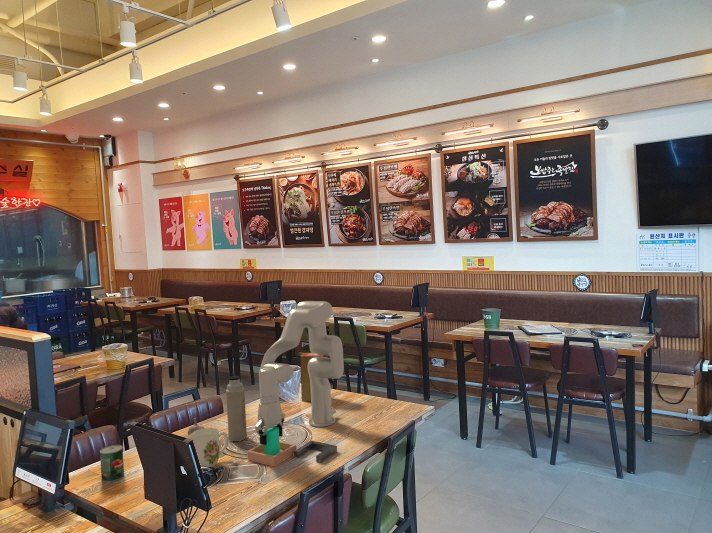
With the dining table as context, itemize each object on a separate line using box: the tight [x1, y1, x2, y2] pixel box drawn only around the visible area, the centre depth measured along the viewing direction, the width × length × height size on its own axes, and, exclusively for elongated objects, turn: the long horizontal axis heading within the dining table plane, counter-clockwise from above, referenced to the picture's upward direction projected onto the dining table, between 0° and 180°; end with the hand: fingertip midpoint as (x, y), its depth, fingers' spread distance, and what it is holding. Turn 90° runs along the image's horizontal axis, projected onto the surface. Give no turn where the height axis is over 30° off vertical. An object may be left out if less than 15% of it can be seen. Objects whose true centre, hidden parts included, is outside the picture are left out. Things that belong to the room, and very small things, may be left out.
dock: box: [293, 440, 338, 464], centre depth 208 cm, size 12×13×2 cm
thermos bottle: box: [225, 375, 248, 442], centre depth 228 cm, size 8×8×28 cm
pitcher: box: [186, 427, 229, 468], centre depth 203 cm, size 11×18×14 cm, turn 138°
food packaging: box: [299, 352, 328, 402], centre depth 282 cm, size 13×9×25 cm
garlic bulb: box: [187, 417, 205, 436], centre depth 235 cm, size 8×7×8 cm
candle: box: [265, 425, 280, 456], centre depth 208 cm, size 6×6×12 cm
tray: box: [246, 440, 297, 467], centre depth 208 cm, size 14×14×4 cm
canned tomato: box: [99, 444, 125, 483], centre depth 194 cm, size 8×8×11 cm
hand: (271, 439), depth 208 cm, fingers open, 9 cm apart
